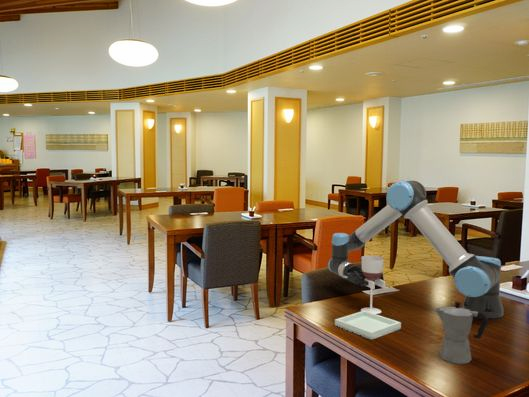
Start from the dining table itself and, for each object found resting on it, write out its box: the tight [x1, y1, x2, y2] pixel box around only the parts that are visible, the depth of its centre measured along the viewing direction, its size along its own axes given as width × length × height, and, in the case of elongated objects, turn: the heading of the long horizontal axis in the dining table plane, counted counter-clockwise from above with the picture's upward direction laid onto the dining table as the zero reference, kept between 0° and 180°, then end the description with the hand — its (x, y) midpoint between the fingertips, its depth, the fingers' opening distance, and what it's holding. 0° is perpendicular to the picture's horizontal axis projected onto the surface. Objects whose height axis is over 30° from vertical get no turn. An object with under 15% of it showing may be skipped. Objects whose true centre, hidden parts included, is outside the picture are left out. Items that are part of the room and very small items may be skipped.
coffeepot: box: [434, 301, 490, 365], centre depth 143 cm, size 15×9×18 cm, turn 66°
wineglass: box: [360, 254, 384, 315], centre depth 188 cm, size 9×10×22 cm
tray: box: [334, 310, 402, 340], centre depth 170 cm, size 17×17×2 cm
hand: (379, 285), depth 183 cm, fingers closed on wineglass, 4 cm apart
